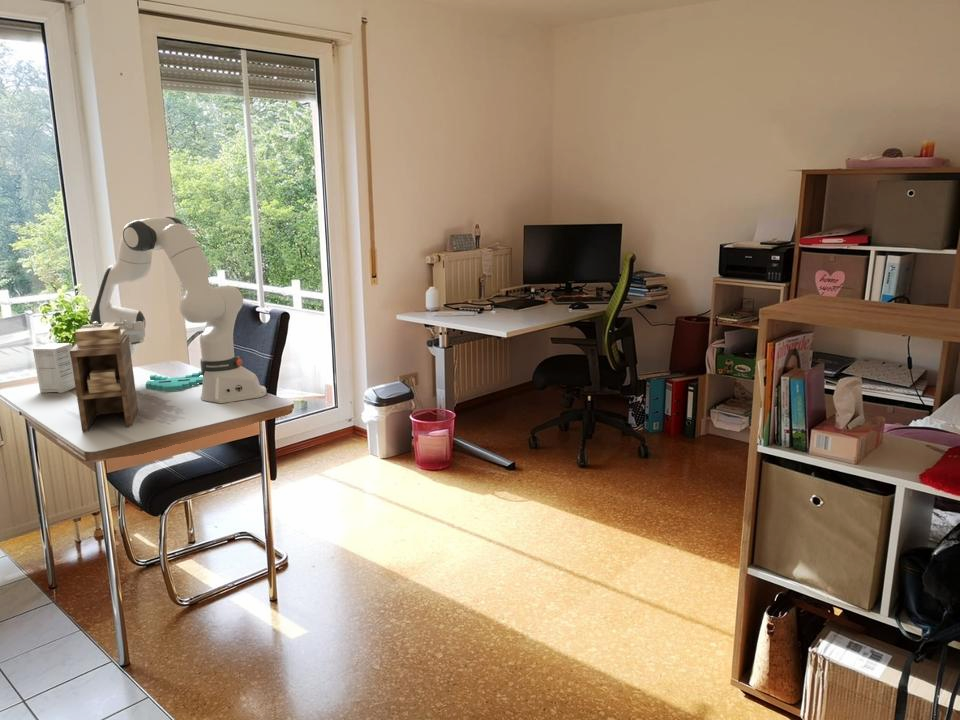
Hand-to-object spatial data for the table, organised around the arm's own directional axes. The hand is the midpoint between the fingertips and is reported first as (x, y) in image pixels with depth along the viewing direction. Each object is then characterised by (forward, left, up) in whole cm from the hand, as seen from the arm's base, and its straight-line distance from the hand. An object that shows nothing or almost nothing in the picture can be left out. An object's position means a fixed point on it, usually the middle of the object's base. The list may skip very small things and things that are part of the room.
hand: (110, 323), depth 256 cm
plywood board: (0, +13, -2) cm, 13 cm away
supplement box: (+24, -25, -28) cm, 45 cm away
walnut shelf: (0, +23, -28) cm, 36 cm away
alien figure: (-17, -17, -29) cm, 37 cm away
